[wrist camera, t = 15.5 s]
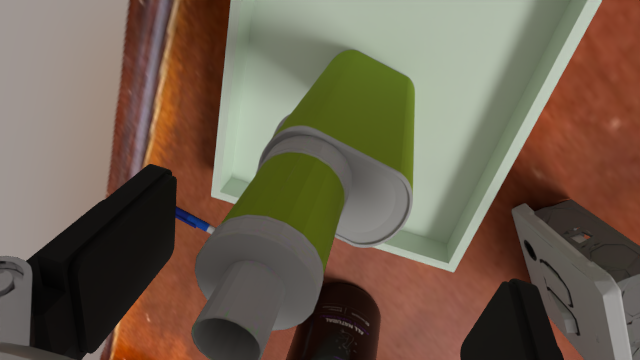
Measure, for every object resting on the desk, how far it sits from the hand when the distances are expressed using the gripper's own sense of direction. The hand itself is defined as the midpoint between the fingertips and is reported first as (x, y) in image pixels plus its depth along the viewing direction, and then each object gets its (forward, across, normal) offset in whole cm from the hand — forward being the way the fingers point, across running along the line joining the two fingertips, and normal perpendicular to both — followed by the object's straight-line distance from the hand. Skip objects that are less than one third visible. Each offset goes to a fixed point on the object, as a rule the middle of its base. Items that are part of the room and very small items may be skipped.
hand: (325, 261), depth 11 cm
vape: (+17, +1, 0) cm, 17 cm away
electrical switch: (+18, -16, +8) cm, 25 cm away
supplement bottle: (+17, -3, +20) cm, 27 cm away
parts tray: (+17, 0, 0) cm, 17 cm away
